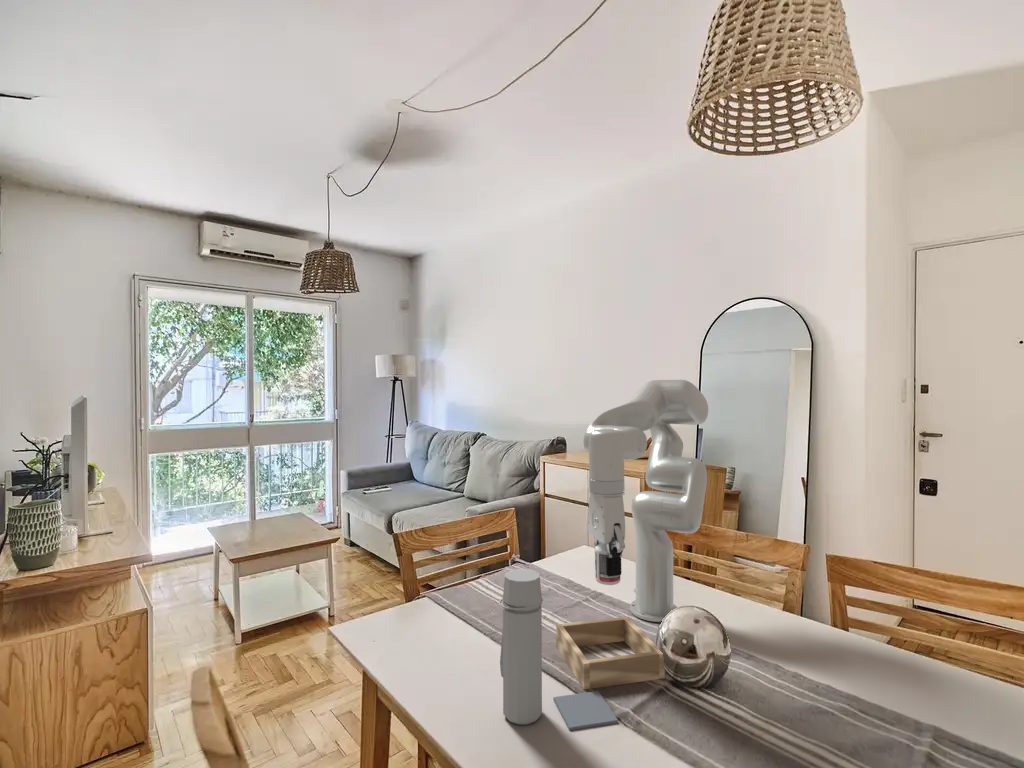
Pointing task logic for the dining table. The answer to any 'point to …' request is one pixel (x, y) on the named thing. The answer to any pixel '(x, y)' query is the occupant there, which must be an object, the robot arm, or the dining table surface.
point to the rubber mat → (584, 710)
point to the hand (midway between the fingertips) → (607, 569)
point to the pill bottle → (603, 565)
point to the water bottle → (522, 646)
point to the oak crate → (609, 669)
